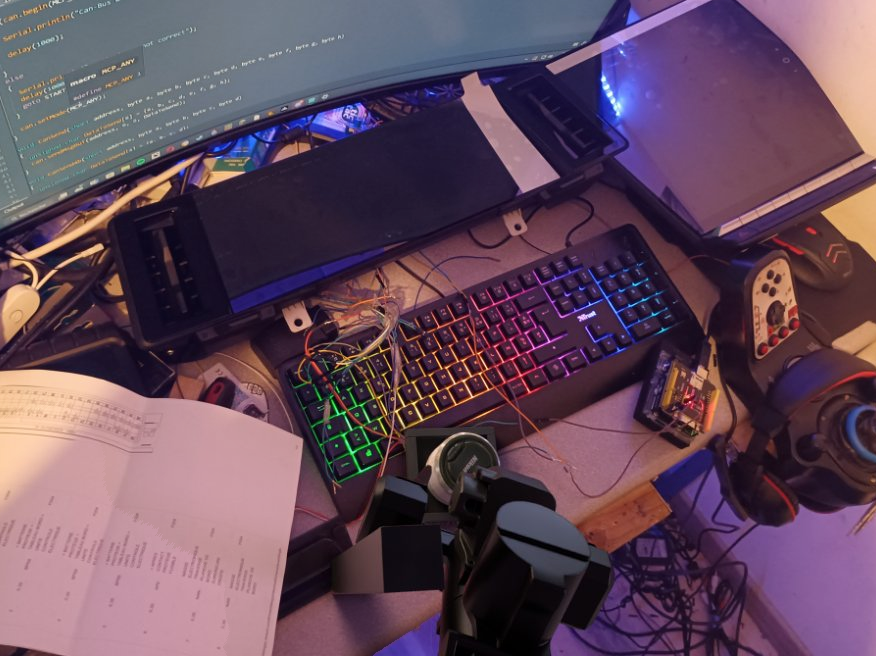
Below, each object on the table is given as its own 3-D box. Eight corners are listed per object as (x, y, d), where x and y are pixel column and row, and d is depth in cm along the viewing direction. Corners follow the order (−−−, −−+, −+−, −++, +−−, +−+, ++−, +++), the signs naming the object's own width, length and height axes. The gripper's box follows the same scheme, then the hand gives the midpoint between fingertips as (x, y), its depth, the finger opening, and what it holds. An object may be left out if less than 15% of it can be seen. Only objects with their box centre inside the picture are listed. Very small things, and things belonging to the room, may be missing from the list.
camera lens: (409, 480, 73) (423, 468, 65) (445, 433, 75) (463, 416, 68) (458, 522, 72) (478, 514, 64) (493, 472, 74) (516, 459, 67)
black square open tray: (498, 521, 73) (505, 518, 71) (409, 525, 72) (413, 523, 70) (488, 431, 77) (494, 426, 75) (403, 433, 75) (407, 428, 73)
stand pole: (363, 592, 69) (445, 589, 34) (331, 594, 68) (383, 593, 34) (361, 558, 70) (440, 523, 36) (331, 560, 70) (380, 526, 35)
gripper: (671, 581, 45) (623, 448, 59) (387, 482, 45) (409, 373, 59) (598, 706, 48) (570, 551, 63) (336, 613, 48) (369, 481, 63)
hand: (482, 488), depth 62 cm, fingers open, 9 cm apart
